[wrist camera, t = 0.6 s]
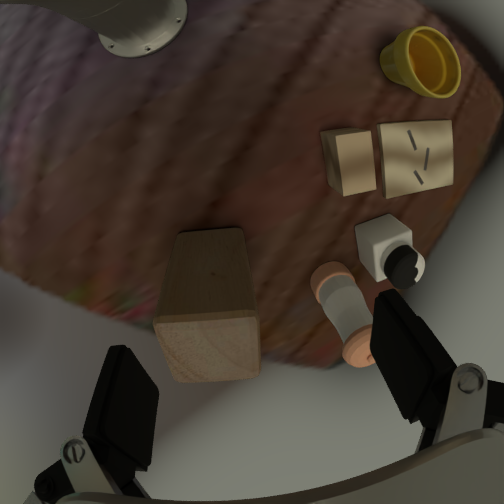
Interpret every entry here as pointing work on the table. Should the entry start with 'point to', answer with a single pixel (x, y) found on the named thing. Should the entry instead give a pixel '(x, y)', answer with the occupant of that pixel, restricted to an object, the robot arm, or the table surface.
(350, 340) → the pepper shaker
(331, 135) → the block
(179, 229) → the table surface
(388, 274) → the medicine bottle
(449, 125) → the board
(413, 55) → the plant pot
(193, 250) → the wooden block
